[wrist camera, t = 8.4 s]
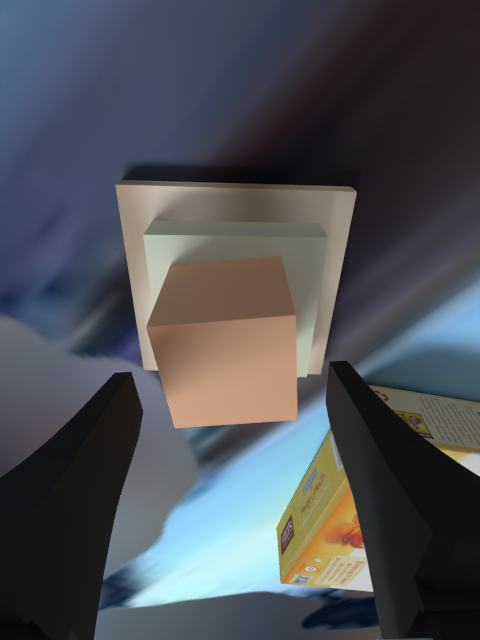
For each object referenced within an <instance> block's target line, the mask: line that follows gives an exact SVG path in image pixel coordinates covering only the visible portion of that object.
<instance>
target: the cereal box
mask: <svg viewBox="0 0 480 640" xmlns="http://www.w3.org/2000/svg"><path fill="white" fill-rule="evenodd" d="M369 386H370V388H371V389H372V390H373V391H374V392H375V393H376V394H377V395H378V396H379V397H380V398H381V399H382V400H383V401H384V402H385V403H386V404H387V405H388V406H389V407H390V408H391V409H392V410H393V411H394V412H395V413H396V414H397V415H398V416H399V417H400V418H402V419H403V420H404V421H405V422H406V423H407V424H408V425H409V426H410V427H412V428H413V429H414V430H415V431H416V432H417V433H419V434H420V435H421V436H423V437H424V438H425V439H426V440H428V441H429V442H430V443H431V444H433V445H434V446H435V447H437V448H438V449H439V450H441V451H442V452H444V453H445V454H447V455H448V456H449V457H451V458H452V459H454V460H455V461H457V462H458V463H460V464H461V465H463V466H464V467H466V468H467V469H469V470H470V471H472V472H473V473H475V474H477V475H478V476H480V403H479V402H473V401H468V400H460V399H454V398H448V397H442V396H436V395H430V394H424V393H418V392H412V391H405V390H399V389H393V388H387V387H381V386H374V385H369ZM276 529H277V537H278V551H279V565H280V581H281V584H293V585H306V586H315V587H328V588H339V589H351V590H361V591H372V592H373V587H372V582H371V577H370V572H369V567H368V562H367V557H366V552H365V548H364V543H363V538H362V534H361V529H360V525H359V520H358V516H357V511H356V507H355V503H354V499H353V495H352V492H351V488H350V485H349V482H348V479H347V476H346V473H345V470H344V467H343V464H342V461H341V458H340V455H339V452H338V449H337V446H336V443H335V440H334V437H333V434H332V430H331V429H330V431H329V433H328V435H327V437H326V439H325V440H324V442H323V444H322V446H321V448H320V449H319V451H318V453H317V455H316V456H315V458H314V460H313V462H312V464H311V465H310V467H309V469H308V471H307V473H306V474H305V476H304V478H303V480H302V482H301V483H300V485H299V487H298V489H297V490H296V492H295V494H294V496H293V497H292V499H291V501H290V503H289V505H288V506H287V508H286V510H285V512H284V514H283V516H282V518H281V520H280V522H279V524H278V526H277V528H276Z"/></svg>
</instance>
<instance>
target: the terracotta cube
mask: <svg viewBox="0 0 480 640" xmlns="http://www.w3.org/2000/svg"><path fill="white" fill-rule="evenodd" d="M146 329H147V333H148V336H149V340H150V343H151V347H152V350H153V354H154V357H155V361H156V364H157V367H158V371H159V374H160V378H161V381H162V385H163V388H164V392H165V395H166V399H167V402H168V405H169V409H170V412H171V416H172V419H173V423H174V427H175V428H183V427H198V426H213V425H228V424H243V423H258V422H272V421H287V420H297V352H296V313H295V309H294V305H293V301H292V297H291V293H290V289H289V285H288V281H287V277H286V273H285V270H284V266H283V262H282V258H281V256H270V257H259V258H248V259H237V260H225V261H214V262H203V263H192V264H181V265H170V267H169V270H168V272H167V275H166V277H165V280H164V283H163V285H162V288H161V290H160V293H159V295H158V298H157V300H156V303H155V306H154V308H153V311H152V313H151V316H150V318H149V321H148V323H147V326H146Z"/></svg>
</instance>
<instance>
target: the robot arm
mask: <svg viewBox="0 0 480 640" xmlns="http://www.w3.org/2000/svg"><path fill="white" fill-rule="evenodd" d="M326 407H327V412H328V417H329V422H330V427H331V430H332V434H333V437H334V440H335V443H336V446H337V449H338V452H339V455H340V458H341V461H342V464H343V467H344V470H345V473H346V476H347V479H348V482H349V485H350V488H351V492H352V495H353V499H354V503H355V507H356V511H357V516H358V520H359V525H360V529H361V534H362V538H363V543H364V548H365V552H366V557H367V562H368V567H369V572H370V577H371V582H372V587H373V592H374V597H375V603H376V608H377V614H378V619H379V624H380V630H381V636H382V639H380V640H480V476H478V475H477V474H475V473H473V472H472V471H470V470H469V469H467V468H466V467H464V466H463V465H461V464H460V463H458V462H457V461H455V460H454V459H452V458H451V457H449V456H448V455H447V454H445V453H444V452H442V451H441V450H439V449H438V448H437V447H435V446H434V445H433V444H431V443H430V442H429V441H428V440H426V439H425V438H424V437H423V436H421V435H420V434H419V433H417V432H416V431H415V430H414V429H413V428H412V427H410V426H409V425H408V424H407V423H406V422H405V421H404V420H403V419H402V418H400V417H399V416H398V415H397V414H396V413H395V412H394V411H393V410H392V409H391V408H390V407H389V406H388V405H387V404H386V403H385V402H384V401H383V400H382V399H381V398H380V397H379V396H378V395H377V394H376V393H375V392H374V391H373V390H372V389H371V388H370V386H369V385H368V384H367V383H366V382H365V381H364V380H363V379H362V378H361V376H360V375H359V374H358V373H357V372H356V371H355V369H354V368H353V367H352V366H351V365H350V364H349V363H348V362H347V361H335V362H329V372H328V383H327V394H326ZM142 415H143V409H142V406H141V403H140V399H139V396H138V393H137V389H136V386H135V383H134V379H133V376H132V372H122V373H114V374H113V375H112V377H111V378H110V379H109V380H108V381H107V382H106V383H105V384H104V385H103V386H102V387H101V388H100V389H99V390H98V391H97V393H96V394H95V395H94V396H93V397H92V398H91V399H90V400H89V401H88V402H87V403H86V404H85V405H84V406H83V408H81V409H80V410H79V412H78V413H77V414H76V415H75V416H74V417H73V418H72V419H70V421H68V422H67V423H66V424H65V425H64V426H63V427H62V428H61V429H60V430H59V431H58V432H57V433H56V434H55V435H54V436H53V437H52V438H50V439H49V440H48V441H47V442H46V443H45V444H44V445H42V446H41V447H40V448H39V449H38V450H36V452H34V453H33V454H32V455H30V456H29V457H28V458H27V459H25V460H24V461H23V462H21V463H20V464H19V465H17V466H16V467H15V468H13V469H12V470H11V471H9V472H8V473H6V474H5V475H4V476H2V477H1V478H0V640H94V634H95V627H96V619H97V613H98V606H99V599H100V593H101V587H102V581H103V575H104V569H105V564H106V559H107V553H108V548H109V543H110V537H111V533H112V528H113V524H114V518H115V514H116V509H117V506H118V502H119V498H120V495H121V492H122V488H123V485H124V482H125V479H126V476H127V473H128V470H129V467H130V463H131V460H132V457H133V454H134V450H135V447H136V444H137V441H138V437H139V433H140V427H141V422H142Z"/></svg>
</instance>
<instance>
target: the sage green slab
mask: <svg viewBox="0 0 480 640" xmlns="http://www.w3.org/2000/svg"><path fill="white" fill-rule="evenodd" d="M143 238H144V245H145V252H146V260H147V267H148V275H149V282H150V289H151V297H152V304H153V308H154V306H155V303H156V300H157V298H158V295H159V293H160V290H161V288H162V285H163V283H164V280H165V277H166V275H167V272H168V270H169V267H170V265H181V264H192V263H203V262H214V261H225V260H237V259H248V258H259V257H270V256H281V258H282V262H283V266H284V270H285V273H286V277H287V281H288V285H289V289H290V293H291V297H292V301H293V305H294V309H295V313H296V352H297V377H307V372H308V366H309V360H310V353H311V347H312V340H313V334H314V328H315V321H316V315H317V308H318V302H319V295H320V289H321V283H322V276H323V270H324V263H325V257H326V250H327V244H328V236H327V234H326V233H325V231H324V229H323V228H322V226H321V224H320V223H282V222H222V221H161V220H153V221H152V222H151V224H150V225H149V227H148V228H147V230H146V231H145V233H144V234H143Z"/></svg>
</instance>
